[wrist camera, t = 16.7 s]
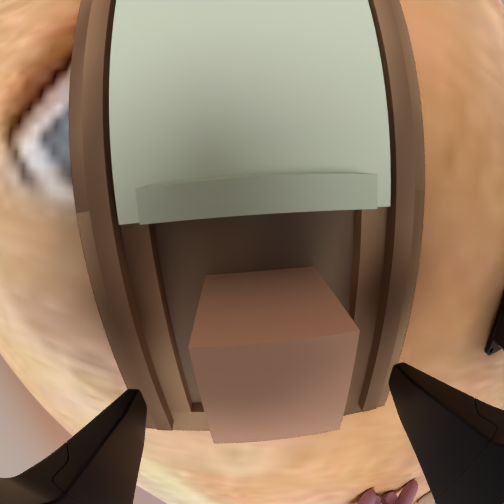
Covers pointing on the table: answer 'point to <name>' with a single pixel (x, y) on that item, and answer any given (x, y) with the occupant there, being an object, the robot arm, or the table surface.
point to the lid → (246, 109)
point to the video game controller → (391, 496)
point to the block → (272, 355)
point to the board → (242, 239)
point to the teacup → (427, 499)
